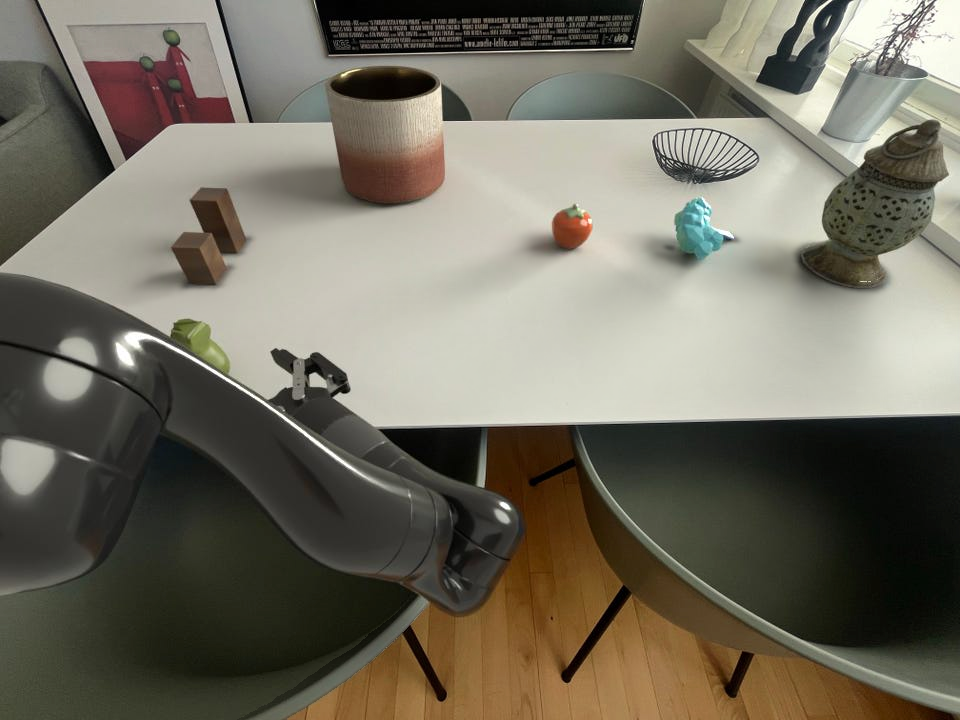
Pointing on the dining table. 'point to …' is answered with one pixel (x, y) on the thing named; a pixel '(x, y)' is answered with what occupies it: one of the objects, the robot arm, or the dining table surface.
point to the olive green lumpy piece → (200, 342)
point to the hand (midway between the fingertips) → (242, 375)
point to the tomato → (571, 227)
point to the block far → (219, 218)
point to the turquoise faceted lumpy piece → (698, 229)
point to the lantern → (879, 207)
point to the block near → (199, 258)
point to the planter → (388, 132)
